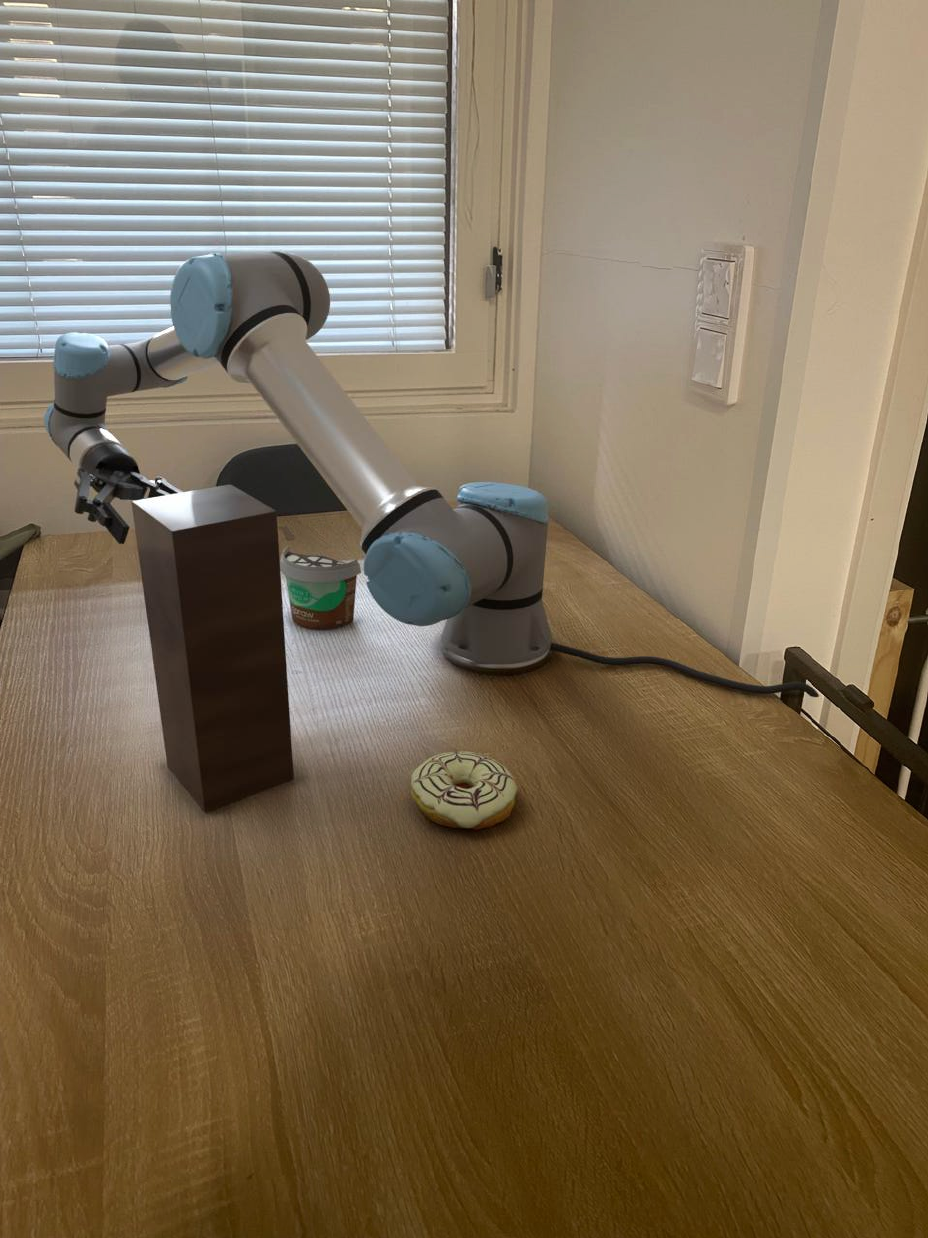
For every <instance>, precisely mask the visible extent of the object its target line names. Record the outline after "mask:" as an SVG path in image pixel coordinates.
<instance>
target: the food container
mask: <svg viewBox="0 0 928 1238" xmlns="http://www.w3.org/2000/svg"><path fill="white" fill-rule="evenodd" d="M361 569H362V568H361V565H360V563H359V560H358V558H355V559H353V560H351V561H350V562H344V561H340V560H336V559H334V558H331V557H327V556H325V555H318V554H317V555H316V554H315V555H314V554H313V555H312V554H301V553H295V552H291V550H290V546H289V545H287V546H286V547H285V548H284V549H283V550H282V554H281V555H280V573H281V574H282V575H284V576H285V582H286V588H287V594H288V595H287V596H288V600H289V606H290V612H291V618H292V621H293V623H294V624H296V626H298V627H300V628H303V629H307V630H311V631H330V630H337V629H341V628H344V627H346V626H348V625H350V624H352V623H353V622H354V617H355V606H356V605H355V604H356V592H357V591H356V590H357V579H358V577H357V576H358V575H360V574H362V570H361Z"/></svg>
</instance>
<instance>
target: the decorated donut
mask: <svg viewBox="0 0 928 1238" xmlns="http://www.w3.org/2000/svg"><path fill="white" fill-rule="evenodd" d="M410 784H411V785H410V794H411V797H412V799H413V800H414V803H415V804H416V805H417V808H418V809H419V811H420V812H421V813H422V814H423V816H424V817H426V818H428V819H429V820H431V821H432V822H433V823H436V824H437V825H440V826H444V827H449V828H452V829H455V828H456V829H457V828H459V829H472V830H474V831H479V830H481V829H483V828H484V829H485V828H490V827H492V826H494V825H496V824H498V823H501V822H504V821H505V820H506V819H508V818H509V817H510V815H511V812H512V810H513V808H514V806H515V803H516V801H515V799H516V794H517V792H518V791H519V788H518V786H517V783H516V780H515V778H514V776H513V775H512V773H511V772H510V771H509V770H508V769H507V767H506V766H505V765H503V764H501V763H500V762H499V761H497V760H496V759H494V758H492V757H491V756H487V755H484V754H480V753H476V752H473V751H461V750H460V751H458V750H457V751H449V752H442V753H440V754H437V755H433V756H432V757H429V758H428V759H426V760H424V762H423V763H421V764H420V765H419V766H418V767H416V769H415V770H414V771H413V773H412V775H411V781H410Z"/></svg>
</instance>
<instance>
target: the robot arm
mask: <svg viewBox="0 0 928 1238" xmlns="http://www.w3.org/2000/svg"><path fill="white" fill-rule="evenodd" d="M171 284H172V285H171V288H170V295H169V305H170V318H171V322H172V327H171V326H170V327H169V328H167V329H165V330H163V331H161V332H159V333H156V334H155V335H153V336H151V337H148V338H146V339H143V340H140V341H136V342H130V343H121V344H112V345H108V343H107V342H106V341H105V339H103V338H101V337H100V336H97V335H95V334H92V333H87V332H83V333H81V332H76V331H73V332H66V333H64V334H62V335H60V336H59V337H58V338H57V339H56V341H55V346H54V354H53V361H52V362H53V363H52V367H53V379H54V380H53V381H54V400H53V402H52V403H51V404H50V405H49V406H48V408H47V410H46V411H45V413H44V416H43V425H44V428H45V430H46V432H47V434H48V436H49V437H50V438H51V441H52V442H53V444H54V445H55V446H56V447H58V448H59V449H60V451H61V452H62V453H63V454H64V456H66V458H68V460H69V461H70V462H71V463H72V464H73V465H74V467H75V468H76V469H77V473H76V476H75V480H74V483H73V485H74V487H75V489H76V490H77V491H76V498H75V505H74V510H73V511H74V513H76V515H77V514H79V515H84V513H88V516H87V521H89V522H91V523H96V522H98V523H99V525H101V526H102V527H105V528H106V529H107V531H108V532H109V533H110V535H111V536H112V537H113V538H114V539H115V541H116V542H117V543H118V544H119V545H124V544H125V543H126V540H127V537H128V533H129V531H130V525H128V523H127V522H126V520H125V519H123V517H122V516H121V515H120V513H118V511H117V510H116V509H115V507H113V505H112V504H111V503H112V502H113V501H114V500H115V499H119V500H121V501H136V500H142V499H147V498H153V497H159V496H165V495H171V494H177V493H182V492H183V491H182V490H180V489H179V488H177V487H175V486H174V485H172V484H171V483H169V482H168V481H167V479H165V478H164V477H162V476H160V475H159V476H157V475H156V477H155V479H154V480H149V479H148V478H147V477H145V476H144V475H142V474H141V472H140V468H139V466H138V462H137V461H136V459H135V458H134V457H133V456H132V454H130V453H129V451H127V449H126V448H125V447H124V445H122V443H121V442H120V441H119V440H118V439H117V438H116V436H114V435H113V434H112V433H111V431H110V430H109V429H108V428H107V427H106V411H107V402H108V397H113V396H118V395H119V396H120V395H124V394H130V393H135V392H141V391H142V392H143V391H147V390H153V389H160V388H164V389H165V388H170V387H174V386H176V385H180V384H183V383H184V382H186V381H187V380H188V377H189V376H191V375H193V374H197V373H198V372H200V371H203V370H206V369H208V368H211V367H214V366H216V365H219V364H220V365H221V366H222V368H223V369H224V370H225V371H226V373H227V374H228V375H229V377H230V378H231V379H232V380H233V381H235V382H237V383H241V384H242V383H243V384H250V385H251V386H252V387H253V388H254V390H255V391H256V392H257V393H258V394H259V396H260V398H261V399H262V400H263V401H264V402H265V404H266V406H267V407H268V408H269V409H270V410H271V412H272V413H273V414H274V416H275V417H276V418H277V420H278V421H279V422H280V424H281V425H282V426H283V427H284V429H285V430H286V432H287V433H288V434H289V435H290V436H291V438H292V439H293V441H294V442H295V443H296V445H297V446H298V447H299V448H300V449H301V451H302V452H303V454H304V455H305V456H306V458H307V459H308V460H309V462H310V463H311V465H313V467H314V468H315V470H317V472H318V473H319V475H320V476H321V477H322V479H323V480H324V481H325V482H326V484H327V486H328V487H330V489H331V490H332V492H333V493H334V494H335V495H336V497H337V498H338V500H339V501H340V502H341V503H342V505H343V506H344V508H345V509H346V511H348V513H349V514H350V515H351V516H352V518H353V519H354V520H355V522H356V524H358V526H359V527H360V528H361V536H360V542H359V547H360V549H361V550H362V552H363V553H364V554H365V557H364V560H363V575H365V576H366V577H367V580H366V581H365V584H366V587H367V589H368V591H369V593H370V595H371V597H372V598H373V600H374V601H375V602H376V604H377V605H378V606H379V607H380V609H382V610H383V611H384V612H385V613H386V614H387V615H389V616H390V617H391V618H393V619H394V620H396V621H398V622H400V623H402V624H405V625H409V626H415V627H427V626H433V625H435V624H438V623H440V622H442V621H445V623H444V626H443V629H442V633H441V637H440V638H441V640H440V641H441V642H440V648H441V653H442V654H443V656H444V657H445V658H446V660H447V661H449V662H450V663H452V664H453V665H455V666H457V667H459V668H462V669H465V670H466V671H469V672H470V671H471V672H473V673H478V674H485V675H497V676H501V675H502V676H503V675H504V676H506V675H516V674H517V675H518V674H523V673H527V672H530V671H534V670H536V669H538V668H540V667H541V666H544V665H545V664H546V663H547V662H548V661H549V660H550V659H551V657H552V653H553V652H557V653H562V654H566V655H569V656H573V657H577V658H581V659H584V660H587V661H590V662H593V663H596V664H601V665H607V666H630V665H631V666H632V665H645V664H646V665H657V666H663V667H664V668H665V667H666V668H669V669H672V670H675V671H678V672H680V673H683V674H685V675H687V676H690V677H692V678H694V679H697V680H700V681H703V682H707V683H710V684H714V685H717V686H720V687H724V688H728V689H732V690H735V691H740V692H745V693H752V694H757V695H772V694H773V695H774V694H778V693H784V692H789V691H797V690H798V691H802V692H805V693H806V694H807V695H808V696H809V697H810V698H811V697H812V698H819V697H820V695H819V693H818V692H817V690H816V689H814V688H813V687H812V686H811V685H809V684H807V683H805V682H801V681H789V682H785V683H779V684H774V685H757V684H751V683H745V682H739V681H737V680H736V681H735V680H731V679H727V678H724V677H721V676H717V675H713V674H710V673H706V672H703V671H700V670H697V669H695V668H692V667H690V666H687V665H684V664H683V663H680V662H677V661H674V660H671V659H667V658H663V657H659V656H658V657H657V656H649V655H647V656H646V655H641V656H627V657H609V656H603V655H598V654H595V653H591V652H588V651H586V650H582V649H578V648H575V647H572V646H568V645H564V644H559V643H555V642H553V635H552V631H551V628H550V623H549V620H548V617H547V613H546V609H545V606H544V602H543V591H544V578H545V566H546V553H547V552H546V551H547V540H548V539H547V538H548V527H549V525H550V520H549V517H548V516H549V504H548V500H547V498H546V497H545V496H544V495H543V494H542V493H541V492H539V491H537V490H535V489H532V488H530V487H526V486H523V485H517V484H512V483H504V482H494V481H476V482H469V483H465V484H463V485H461V486H460V487H459V489H458V494H457V496H456V501H457V507H455V508H453V507H452V506H451V505H450V503H449V502H448V501H447V500H446V499H445V498H444V496H443V495H442V494H441V492H440V491H439V490H438V489H437V488H436V487H433V486H424V485H419V484H418V483H417V482H416V481H415V479H414V478H413V477H412V475H410V473H409V472H408V470H407V468H405V467H404V465H403V464H402V463H401V462H400V460H399V459H398V458H397V457H396V455H395V454H394V452H393V451H392V450H391V449H390V447H389V446H388V445H387V444H386V442H385V441H384V440H383V438H382V437H381V436H380V434H379V433H378V432H377V431H376V430H375V428H374V427H373V426H372V424H371V423H370V422H369V421H368V419H367V418H366V417H365V415H364V414H363V412H362V411H361V410H360V409H359V407H358V406H357V405H356V403H354V401H353V400H352V398H351V397H350V396H349V395H348V393H346V391H345V390H344V389H343V387H342V386H341V384H339V382H338V380H336V378H335V377H334V376H333V375H332V373H331V372H330V371H329V369H328V368H327V367H326V366H325V363H323V362H322V360H321V359H320V357H319V356H318V355H317V354H316V352H314V350H313V349H312V347H311V346H310V345H309V344H308V342H307V341H308V340H309V339H311V338H313V337H314V336H315V335H317V334H318V333H319V332H320V331H321V329H322V328H323V327H324V326H325V323H326V321H327V320H328V317H329V314H330V308H331V293H330V289H329V286H328V284H327V281H326V279H325V277H324V276H323V273H322V272H321V271H320V270H319V268H318V267H317V266H316V265H314V263H312V262H311V261H310V260H308V259H307V258H305V257H303V256H301V255H299V254H297V253H294V252H290V251H269V252H239V253H238V252H237V253H218V252H210V253H209V254H206V255H198V256H193V257H190V258H188V259H186V260H185V261H184V262H183V263H182V264H181V265H180V266H179V267H178V269H177V271H176V273H175V275H174V277H173V279H172V283H171ZM90 488H92V489H93V490H94V492H96V493H97V494H96V495H95V496H94V497H93V499H90V498H89V494H90ZM148 490H149V492H148V494H147V491H148ZM146 494H147V497H145V496H146Z"/></svg>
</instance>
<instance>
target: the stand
mask: <svg viewBox="0 0 928 1238" xmlns="http://www.w3.org/2000/svg"><path fill="white" fill-rule="evenodd" d="M130 501H131V502H130V503H131V510H132V516H133V524H134V530H135V538H136V546H137V553H138V560H139V567H140V574H141V582H142V589H143V597H144V604H145V605H144V606H145V613H146V620H147V627H148V634H149V642H150V650H151V655H152V662H153V663H152V665H153V670H154V671H153V672H154V679H155V685H156V693H157V700H158V708H159V714H160V723H161V729H162V737H163V744H164V751H165V759H166V765H167V768H168V769H169V770H170V771H171V773H172V774H173V775H174V776H175V778H176V779H177V780H178V782H180V784H181V785H182V786H183V787H184V789H185V790H186V791H187V792H188V793H189V795H190V796H191V797H192V799H193V800H194V801H195V802H196V804H197V805H198V806H199V807H200V809H201V810H202V811H203V812H204V813H208V812H211V811H213V810H216V809H219V808H221V807H224V806H227V805H229V804H231V803H234V802H237V801H241V800H242V799H245V798H247V797H250V796H253V795H256V794H258V793H261V792H263V791H266V790H268V789H271V788H274V787H276V786H279V785H281V784H285V783H287V782H290V781H292V780H294V779H295V776H294V775H295V774H294V760H293V743H292V729H291V728H292V727H291V714H290V713H291V711H290V699H289V684H288V682H289V681H288V667H287V651H286V637H285V635H286V634H285V621H284V607H283V591H282V575H281V574H282V572H281V571H280V560H281V556H280V544H279V542H280V541H279V529H278V516H277V515H278V513H277V510H275V509H274V508H272V507H270V506H268V505H267V504H266V503H263V502H261V500H258V499H257V498H255V497H253V496H251V495H249V494H248V493H246V492H245V491H242V490H241V489H239V488H237V487H236V486H234V485H233V484H223V485H218V486H211V487H206V488H200V489H195V490H190V491H182V493H177V494H171V495H165V496H159V497H153V498H148V497H146V499H142V500H136V501H134V500H130Z"/></svg>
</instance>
